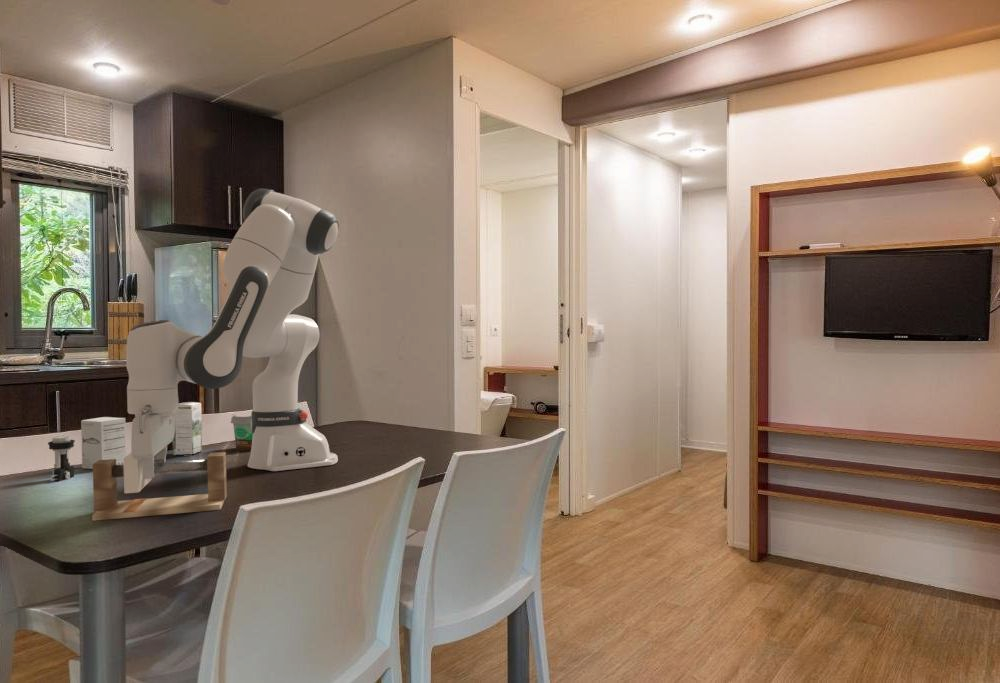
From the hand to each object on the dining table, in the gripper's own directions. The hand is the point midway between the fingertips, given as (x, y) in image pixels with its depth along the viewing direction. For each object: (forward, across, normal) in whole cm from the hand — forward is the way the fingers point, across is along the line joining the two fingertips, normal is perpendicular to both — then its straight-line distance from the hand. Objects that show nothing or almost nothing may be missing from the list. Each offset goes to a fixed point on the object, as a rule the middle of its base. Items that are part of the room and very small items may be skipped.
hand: (154, 473), depth 130 cm
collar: (+2, 0, +3) cm, 4 cm away
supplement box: (+7, +50, +22) cm, 55 cm away
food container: (+7, +63, -12) cm, 64 cm away
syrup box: (+7, +62, +4) cm, 62 cm away
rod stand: (+7, 0, -1) cm, 7 cm away
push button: (+7, +36, +28) cm, 47 cm away
